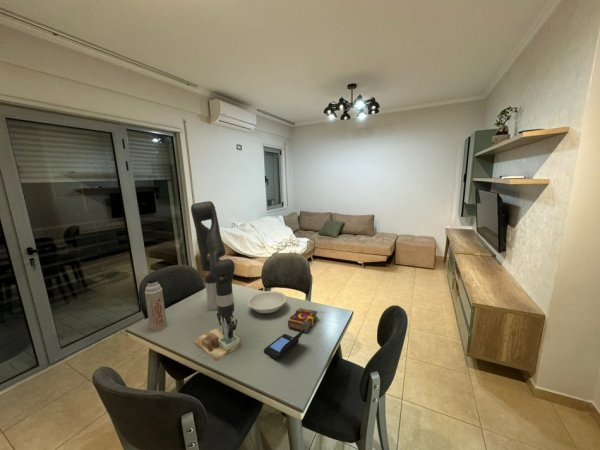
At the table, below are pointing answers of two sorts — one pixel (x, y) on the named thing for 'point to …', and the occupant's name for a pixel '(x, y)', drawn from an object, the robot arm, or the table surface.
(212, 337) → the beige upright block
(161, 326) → the thermos bottle
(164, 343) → the table surface
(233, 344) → the tray
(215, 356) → the board
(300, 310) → the decorative book
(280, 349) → the game console
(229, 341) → the dowel
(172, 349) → the table surface
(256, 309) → the soup bowl
